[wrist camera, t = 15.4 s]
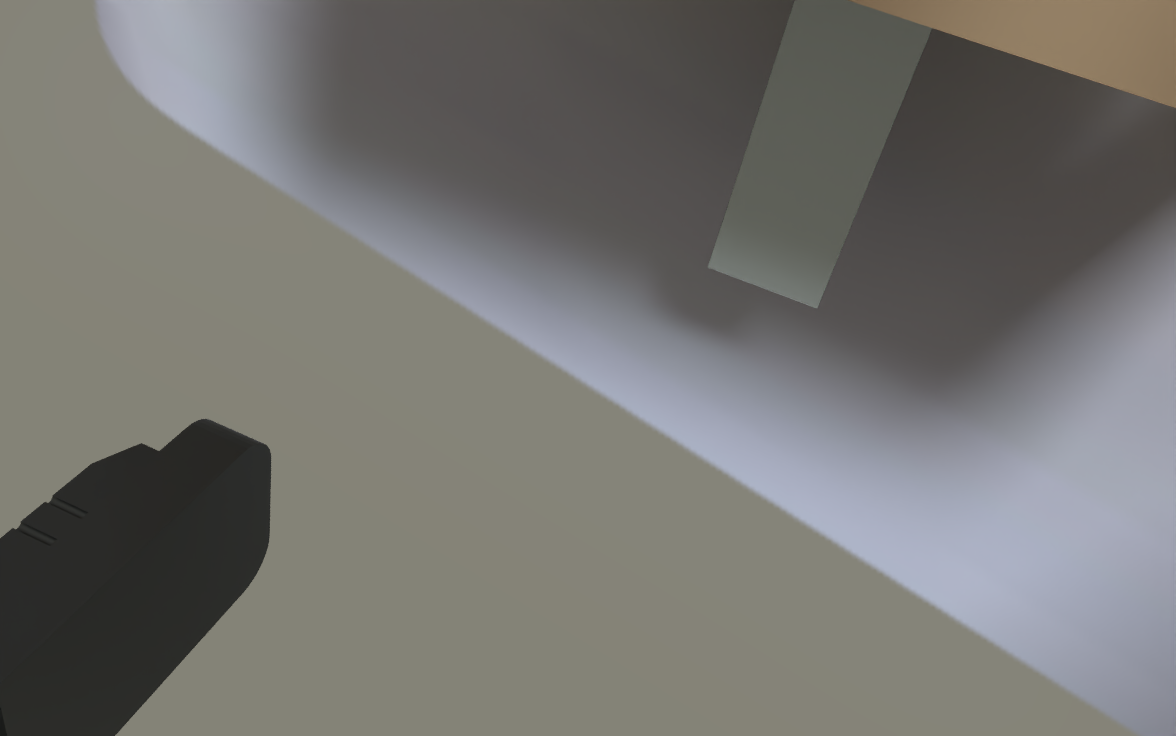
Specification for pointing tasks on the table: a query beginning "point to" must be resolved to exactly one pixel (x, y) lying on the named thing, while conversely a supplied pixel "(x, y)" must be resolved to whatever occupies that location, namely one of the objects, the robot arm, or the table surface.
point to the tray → (815, 144)
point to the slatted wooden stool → (1066, 36)
